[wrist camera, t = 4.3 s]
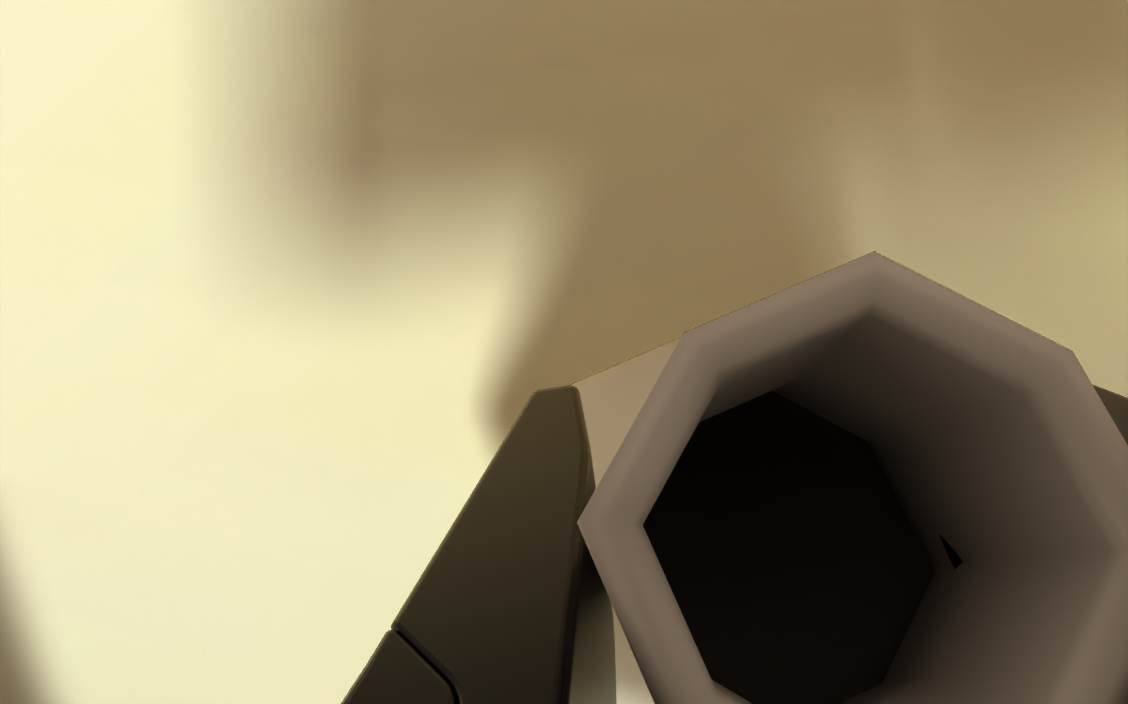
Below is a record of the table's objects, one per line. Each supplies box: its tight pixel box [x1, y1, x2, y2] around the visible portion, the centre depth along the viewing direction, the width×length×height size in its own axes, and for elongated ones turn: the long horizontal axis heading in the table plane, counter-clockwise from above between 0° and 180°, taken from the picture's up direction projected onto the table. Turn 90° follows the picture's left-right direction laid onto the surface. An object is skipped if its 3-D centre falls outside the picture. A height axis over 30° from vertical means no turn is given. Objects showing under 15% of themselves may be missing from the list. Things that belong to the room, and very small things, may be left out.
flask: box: [569, 251, 1128, 704], centre depth 10 cm, size 7×7×10 cm
